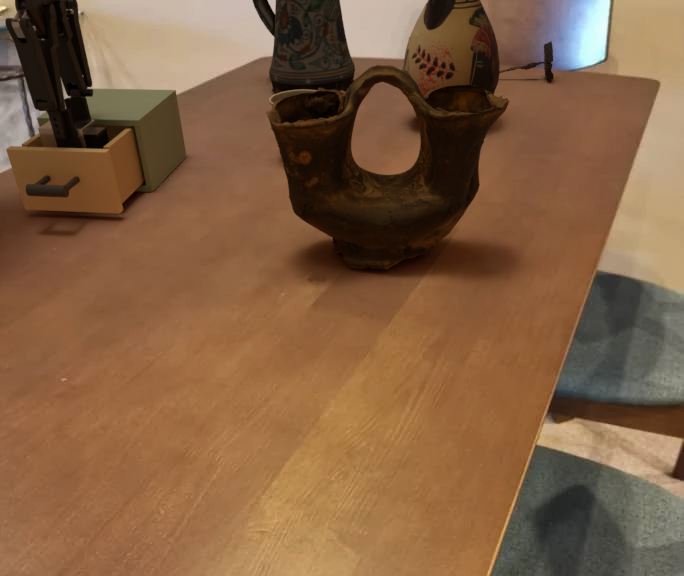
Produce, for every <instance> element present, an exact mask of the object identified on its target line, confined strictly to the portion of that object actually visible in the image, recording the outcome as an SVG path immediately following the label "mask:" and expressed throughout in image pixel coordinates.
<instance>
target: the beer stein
mask: <svg viewBox="0 0 684 576" xmlns="http://www.w3.org/2000/svg"><path fill="white" fill-rule="evenodd" d="M252 3H253V7H254V9H255V11H256V13H257V15H258V17H259V18H260V21H261V22H262V23H263V25H264V26H265V28H266V30H268V32H269V34H271V36H272V37H273V50H272V56H271V57H272V58H271V63H270V66H269V70H268V75H269V79H270V83H271V85H272V91H273V92H274V94H277V93H280V92H284V91H289V90H290V91H291V90H302V89H303V90H304V89H305V90H318V88H324V89H326V90H332V89H334V90H337V91H342V90H343V91H344V92H346V91H347V89H348V88H349V87H350V85H351V84H352V83H353V82H354V81H355V80H354V77H355V72H356V66H355V65H356V64H355V63H354V61H353V59H352V56H351V53H350V52H351V51H350V49H349V45H348V41H347V36H346V31H345V26H344V20H343V13H342V6H341V0H275V11H274V10H273V8H272V5H270V2H269V1H268V0H252Z"/></svg>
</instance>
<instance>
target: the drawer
mask: <svg viewBox="0 0 684 576" xmlns="http://www.w3.org/2000/svg"><path fill="white" fill-rule="evenodd" d="M96 127H106V130H107V134H108V138H109V143H108V144H106V145H105V146H104V147H103V148H104V149H86V148H54V147H43V144H42V141H41V137H40V134H39V132H38V133H36V134H34V136H32V137H30V138H29V139H27V140H26V141H24V142H23V143H21V146H19V145H18V146H17V145H15V146H14V145H11V146H9V147H7V148H6V149H5V151H6V155H7V158H8V160H9V163H10V166H11V170H12V173H13V176H14V179H15V182H16V186H17V188H18V191H19V194H20V197H21V201H22V204H23V207H24V210H27V211H46V212H47V211H51V212H72V213H93V214H95V213H96V214H115V215H116V214H117V215H118V214H121V213H122V212H123V211H124V206H123V204H124V203H125V201H127V199H128V198H130V196H131V195H132V194H133V193H134V192H136V191H135V190H136V189H137V188H138V187H139V186H140V185H141V184H142V183H143V182H144V181H145V176H144V171H143V166H142V161H141V156H140V152H139V147H138V142H137V137H136V132H135V127H134V126H104V125H96Z"/></svg>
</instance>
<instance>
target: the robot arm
mask: <svg viewBox="0 0 684 576" xmlns="http://www.w3.org/2000/svg"><path fill="white" fill-rule="evenodd" d="M14 7H15V10H16V13H15V15H14V17H6V18H5V19H4V20H5V21H4V22H5V23H4V24H5V27H6V29H7V32H8V34H9V35H10V37H11V39H12V41H13V43H14V46H15V50H16V53H17V56H18V59H19V63H20V67H21V70H22V72H23V75H24V79H25V82H26V85H27V89H28V92H29V95H30V98H31V101H32V105H33V107H34V109H35V110H37V111H38V112H47V113H48V115H49V119H50V123H51V126H52V130H53V133H54V136H55V140H56V144H57V147H58V148H80V146H79V142H78V138H77V134H76V130H75V126H74V122H73V119H86V120H91V116H90V112H89V108H88V104H87V100H86V97H92V96H93V89H94V88H92V87H93V79H92V75H91V70H90V66H89V61H88V55H87V52H86V47H85V43H84V38H83V32H82V28H81V24H80V17H79V4H78V1H77V0H14ZM63 87H64V89H63ZM87 88H90V89H87ZM64 90H65V94H66V96H67V97H66V98H65V96H64ZM70 96H71V98H69V97H70ZM65 105H66V109H65Z"/></svg>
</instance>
